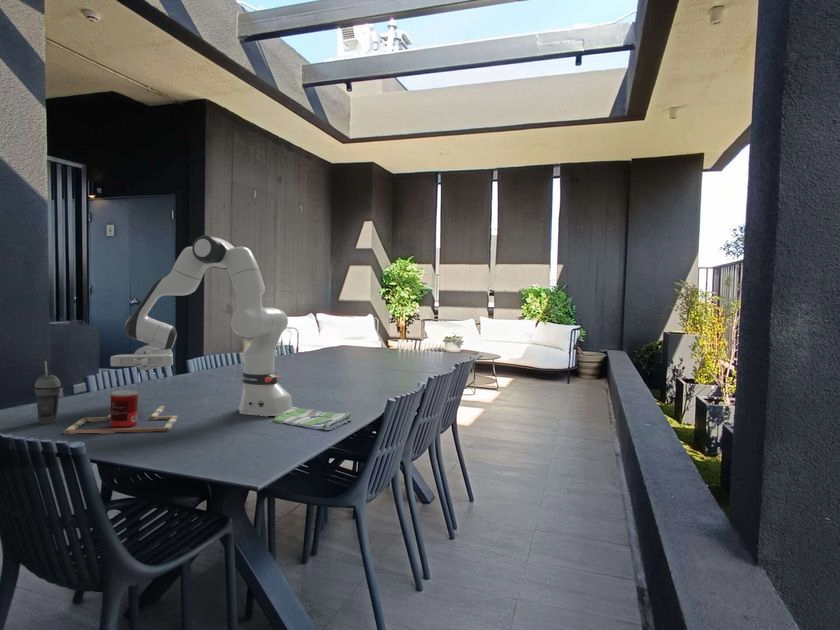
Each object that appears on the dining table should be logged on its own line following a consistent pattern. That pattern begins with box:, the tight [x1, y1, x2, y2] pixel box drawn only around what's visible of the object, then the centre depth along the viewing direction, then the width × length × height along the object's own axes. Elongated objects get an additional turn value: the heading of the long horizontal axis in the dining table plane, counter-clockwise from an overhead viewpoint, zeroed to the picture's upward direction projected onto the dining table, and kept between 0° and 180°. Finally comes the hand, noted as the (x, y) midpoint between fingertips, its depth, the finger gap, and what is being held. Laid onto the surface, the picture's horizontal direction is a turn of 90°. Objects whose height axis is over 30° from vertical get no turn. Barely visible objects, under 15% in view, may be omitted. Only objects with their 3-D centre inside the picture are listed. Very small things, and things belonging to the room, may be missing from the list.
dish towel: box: [272, 407, 352, 428], centre depth 187 cm, size 17×23×4 cm
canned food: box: [109, 389, 139, 429], centre depth 171 cm, size 8×8×11 cm
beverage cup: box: [33, 360, 62, 425], centre depth 171 cm, size 7×7×20 cm
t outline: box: [62, 405, 179, 435], centre depth 178 cm, size 32×29×1 cm
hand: (137, 362), depth 184 cm, fingers closed
